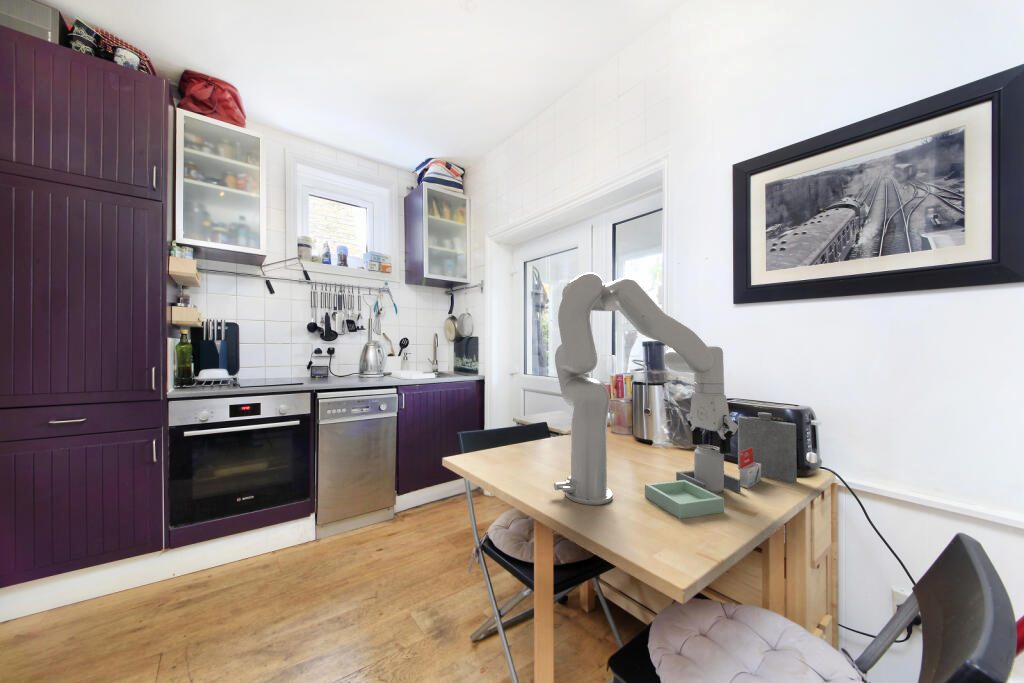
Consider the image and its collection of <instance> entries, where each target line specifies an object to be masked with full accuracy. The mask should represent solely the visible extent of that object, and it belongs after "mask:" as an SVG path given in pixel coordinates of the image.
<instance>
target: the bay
mask: <svg viewBox="0 0 1024 683" xmlns="http://www.w3.org/2000/svg"><path fill="white" fill-rule="evenodd" d="M675 473H676V474H675V477H676V479H675V481H679V480H686V481H688V482H690V483H692V484H694V485H696V486H699V487H701V488H703V489H705V490H706V484H705V483H703V482H701V481H698V480H696V479H694V469H693V470H684V471H676V472H675ZM725 488H726V489H728V490H730V491H733V492H735V493H738V494H739V493H741V490H742V489H741V480H740V478H737V477H735V476H731V475H729V474H727V473H724V489H725Z"/></svg>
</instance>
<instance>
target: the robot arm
mask: <svg viewBox="0 0 1024 683" xmlns="http://www.w3.org/2000/svg"><path fill="white" fill-rule="evenodd" d="M561 296H562V298H561V301H560V304H559V307H558V313H557V319H558V320H557V322H558V329H559V335H560V341H561V343H560V344H559V346H558V347H557V348H556V350H555V354H554V364H555V369H556V373H557V375H556V376H557V379H558V383H559V384H558V385H559V389H560V392H561V395H562V398H563V401H564V402H565V403H566V404H567V405H568V406H569V407H570V408H572V409H573V412H572V417H571V426H570V476H567V477H566V478H567V479H566V480H564V481H563V482H562V481H558V482H554V484H553V489H554V490H555V491H562V492H563V493H565V496H566V498H568V499H569V500H570V501H574V502H575V503H579V504H582V505H589V506H591V505H594V506H595V505H596V506H598V505H599V506H600V505H604V504H607V503H610V502H611V501H612V500H613V498H614V497H613V496H614V494H613V492H612V490H611V489H610V488H608V487H607V482H608V479H607V477H608V474H607V472H608V470H607V468H608V466H607V465H608V457H607V456H608V450H607V449H608V445H607V444H608V439H607V438H608V435H607V434H608V419H609V418H608V417H609V412H610V411H609V410H610V405H611V396H610V393H609V389H608V388H607V387H606V385H605V384H603V383H602V382H601V381H599V380H597V379H595V378H590V373H591V372H593V371H594V370H595V369H596V367H597V364H598V353H597V349H596V345H595V340H594V336H593V331H592V328H591V327H592V325H591V313H592V311H595V312H616V311H619V312H620V313H621V315H622V316H624V318H625V319H626V320H627V321H628V322H629V323H630V324H631V326H633V327H634V329H635V330H636V331H638V333H639V334H641V335H643V336H644V337H647V338H649V339H652V340H654V341H656V342H660V343H662V344H664V345H665V346H667V347H669V349H668V350H667V351H666V352H665V354H664V356H663V362H664V364H665V366H666V367H667V368H668V369H669V370H671V371H672V372H677V373H688V374H689V373H691V374H693V375H694V376H693V379H694V380H693V381H694V384H693V388H694V392H692V396H691V399H690V400H691V402H690V411H689V413H686V414H685V418H686V420H687V424H688V425H689V427H690V428H689V429H690V431H691V433H692V434H691V436H692V445H694V446H697V445H704V443H703V441H704V440H703V430H701V429H704V430H708V431H711V432H717V434H718V436H719V437H720V438H719V441H718V442H719V445H718V446H719V448H720V453H721V454H724V455H725V454H731V450H732V449H731V439H732V440H733V437H734V436H735V435H736V434H737V432H738V423H736V422H734V421H733V420H732V419H731V418H730V412H729V404H728V399H727V396H726V394H725V375H724V374H725V372H724V370H725V369H724V351H723V348H721V347H720V346H712V345H711V346H709V345H708V346H707V344H705V342H704V341H703V340H702V339H701V338H700V337H699V335H698V334H697V333H695V332H694V331H693V330H692V329H691V328H689V327H687V326H686V325H685V324H683V323H681V322H679V321H678V320H677V319H675V318H674V317H671V316H670V315H667V314H666V313H665V312H664V311H663V310H662V309H661V307H659V306H658V304H656V302H655V301H654V300H653V299H652V298H651V297H650V296H649V295H648V293H647V292H646V291H645V290H644V289H643V287H641V286H640V284H638V282H636V281H635V280H634V279H632V278H630V277H623V278H619V279H617V280H614V281H611V282H607V283H604V282H603V279H602V277H601V276H600V275H599V274H597V273H594V272H586V273H583V274H581V275H578V276H576V277H575V278H574V279H572V280H570V281H569V282H567V283H566V285H564V287H563V289H562V294H561Z"/></svg>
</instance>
